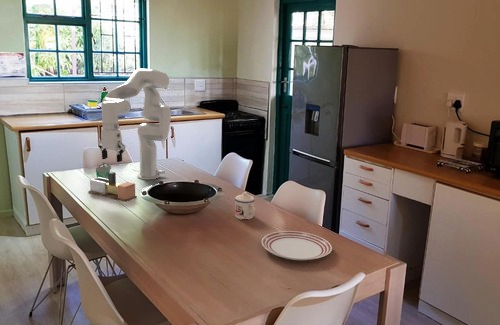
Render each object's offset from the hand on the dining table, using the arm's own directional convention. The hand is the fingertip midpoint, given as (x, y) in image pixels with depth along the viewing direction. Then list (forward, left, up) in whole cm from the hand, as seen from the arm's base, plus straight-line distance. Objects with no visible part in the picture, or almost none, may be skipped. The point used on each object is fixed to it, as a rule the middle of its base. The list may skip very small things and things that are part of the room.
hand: (112, 160), depth 235 cm
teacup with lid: (-58, +43, -19) cm, 74 cm away
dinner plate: (-67, +81, -19) cm, 107 cm away
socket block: (-6, +7, -18) cm, 21 cm away
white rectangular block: (+5, -5, -17) cm, 19 cm away
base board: (0, 0, -18) cm, 18 cm away
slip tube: (-2, +3, -16) cm, 17 cm away
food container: (+3, -23, -19) cm, 29 cm away
